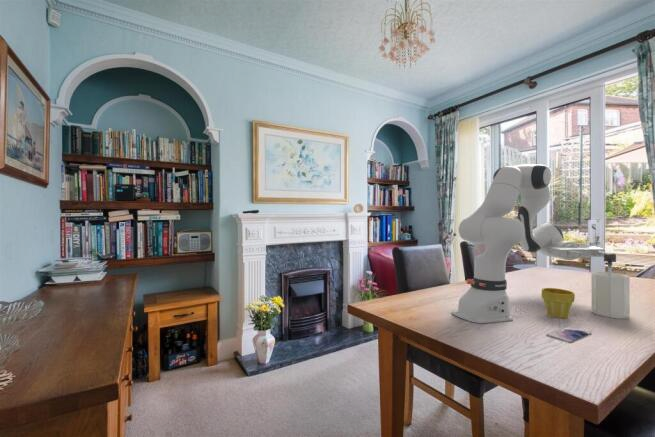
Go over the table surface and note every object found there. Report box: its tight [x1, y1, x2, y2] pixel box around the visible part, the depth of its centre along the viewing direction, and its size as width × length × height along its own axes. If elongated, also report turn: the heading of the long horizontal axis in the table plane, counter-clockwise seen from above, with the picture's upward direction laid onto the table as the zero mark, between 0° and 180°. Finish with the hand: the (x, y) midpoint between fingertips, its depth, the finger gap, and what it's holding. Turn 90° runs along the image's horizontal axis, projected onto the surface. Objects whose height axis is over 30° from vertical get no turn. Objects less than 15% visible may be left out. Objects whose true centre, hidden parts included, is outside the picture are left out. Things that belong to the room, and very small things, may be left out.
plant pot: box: [541, 287, 575, 319], centre depth 117 cm, size 10×10×10 cm
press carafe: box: [590, 271, 631, 320], centre depth 119 cm, size 13×10×16 cm
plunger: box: [603, 252, 617, 276], centre depth 118 cm, size 8×8×22 cm
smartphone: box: [545, 326, 593, 344], centre depth 98 cm, size 7×1×15 cm
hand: (591, 254), depth 127 cm, fingers open, 8 cm apart
